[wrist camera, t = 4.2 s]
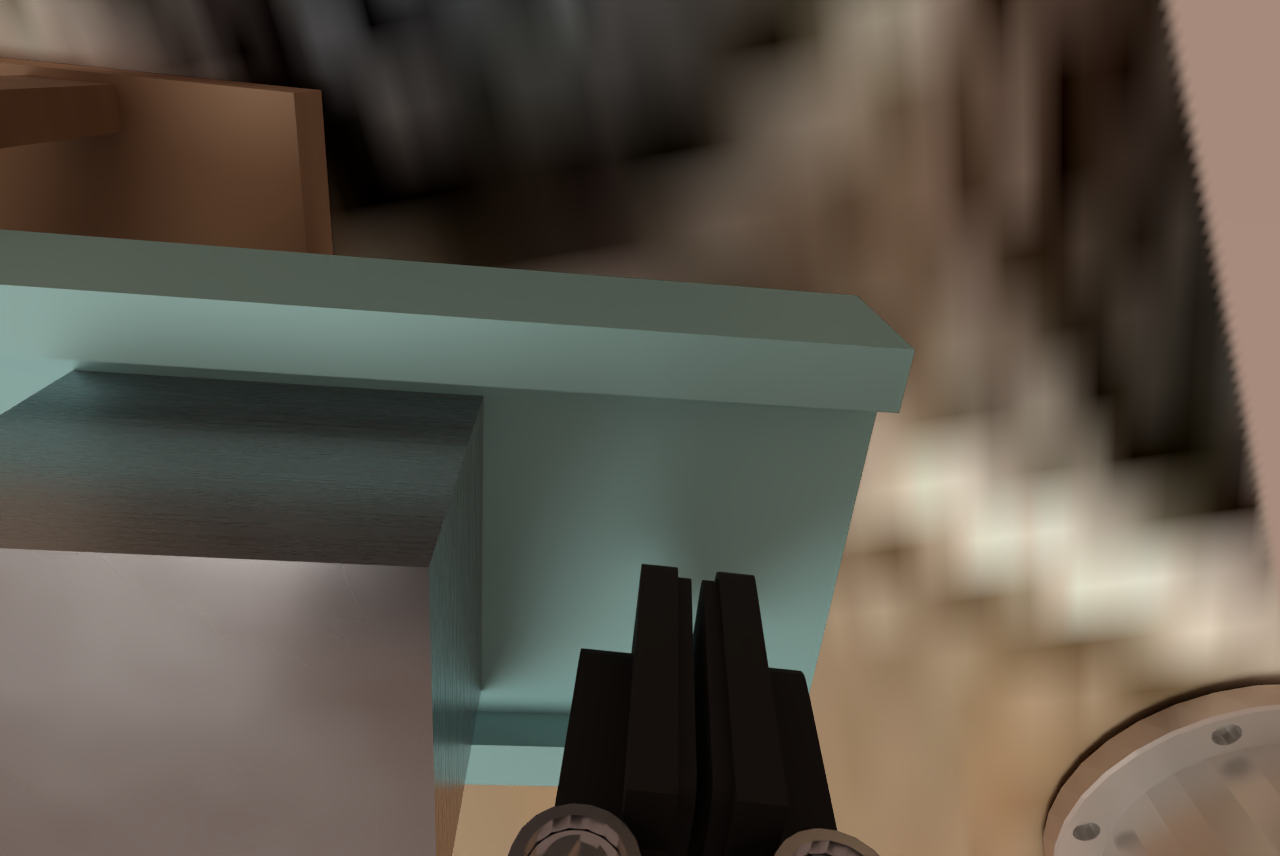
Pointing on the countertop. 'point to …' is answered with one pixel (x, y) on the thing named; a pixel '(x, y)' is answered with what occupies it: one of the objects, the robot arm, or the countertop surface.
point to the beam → (525, 424)
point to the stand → (162, 158)
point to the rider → (237, 617)
